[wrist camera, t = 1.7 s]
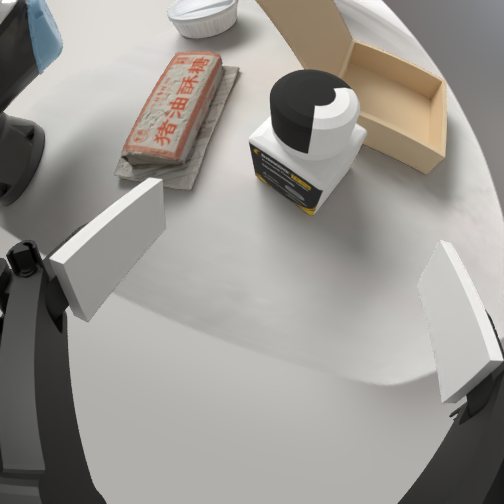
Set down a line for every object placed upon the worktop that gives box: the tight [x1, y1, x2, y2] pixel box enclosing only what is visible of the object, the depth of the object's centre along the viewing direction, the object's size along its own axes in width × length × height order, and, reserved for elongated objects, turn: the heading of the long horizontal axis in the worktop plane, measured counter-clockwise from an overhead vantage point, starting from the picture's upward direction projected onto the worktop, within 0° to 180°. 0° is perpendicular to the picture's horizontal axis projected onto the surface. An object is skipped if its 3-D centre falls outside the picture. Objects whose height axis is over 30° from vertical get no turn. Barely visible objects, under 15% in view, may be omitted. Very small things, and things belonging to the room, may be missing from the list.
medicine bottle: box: [249, 69, 367, 215], centre depth 21 cm, size 7×7×12 cm
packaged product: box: [114, 51, 240, 190], centre depth 27 cm, size 18×5×10 cm
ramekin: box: [167, 0, 238, 39], centre depth 30 cm, size 11×11×5 cm
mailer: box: [256, 0, 447, 175], centre depth 20 cm, size 20×13×16 cm, turn 67°
